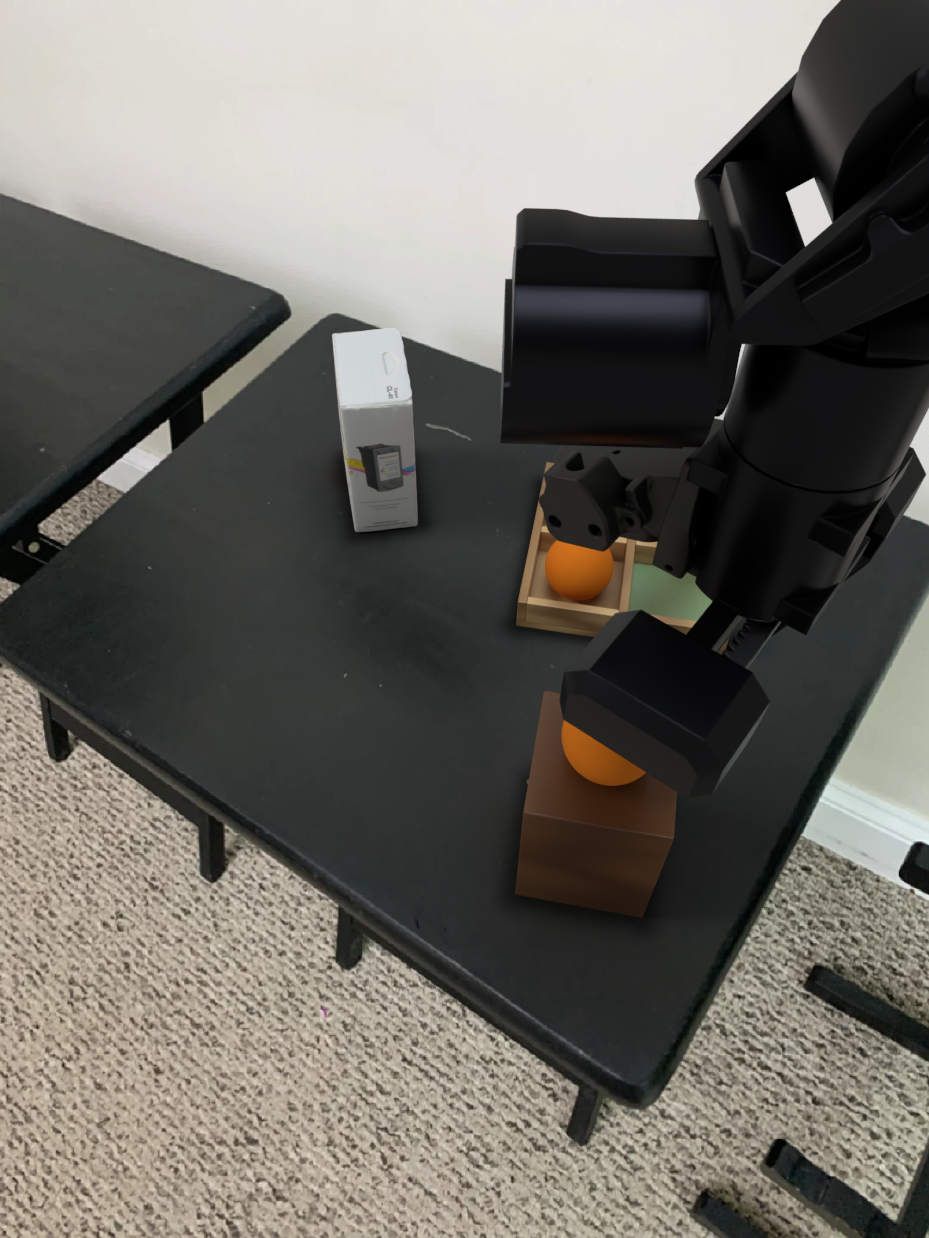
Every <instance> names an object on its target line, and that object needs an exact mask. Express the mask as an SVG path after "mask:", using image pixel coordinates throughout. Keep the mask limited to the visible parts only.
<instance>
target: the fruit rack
mask: <svg viewBox="0 0 929 1238" xmlns="http://www.w3.org/2000/svg"><path fill="white" fill-rule="evenodd" d="M554 464H555V462H549V461H546V462H545V467H544V473H545V472H546V471H547V470H548V469H549V468H550V467H551V466H553V465H554ZM544 473H543V474H544ZM545 486H546V483H545V478H544V475H543V476H542V482H541V487H540V491H539V496H538V499H539V498H540V496H541V495H542V494H543V493H544V490H545ZM556 541H557V539H555V538H554V537H553V536H552V535H551V534H550V533H549V531H548V529H547V525H546V521H545V517H544V514H543V510H542V508H541V506H540V504H539V500H538V502H537V505H536V510H535V516H534V521H533V525H532V530H531V535H530V540H529V545H528V549H527V554H526V560H525V564H524V569H523V574H522V579H521V583H520V589H519V594H518V599H517V609H516V623H515V624H516V626H517V627H524V628H531V629H536V630H544V631H550V632H556V633H557V632H558V633H564V634H570V635H577V636H583V637H591V638H594V637H595V636H596V635H597V634H598V632H599V631H600V630H601V629H602V628H603V627H604V626H605V624H606V623H607V622H608V621H609V620H610V619H611V618H612V616H613V615H614V614H615V613H619V612H626V611H633V610H640V609H641V610H643V611H645V612H646V613H648V614H650V615H652V616H654V617H655V618H657V619H659V620H661V621H662V622H664V623H666V624H668V625H670V626H671V627H673V628H675V629H677V630H678V631H680V632H682V633H684V634H687V633H688V632H689V630H690V629H691V628H692V627H693V625H694V624H695V623H696V622H697V620H698V619H699V618H700V617H701V615H702V614H703V613H704V612H705V610H706V609H707V608H708V607H709V605H710V604H711V603H712V602H713V601H712V600H710V599H709V598H708V597H707V596H706V595H705V594H704V593H703V592H702V591H701V590H700V589H699V588H698V586H697V585H696V583H695V579H696V577H695V576H693V575H691V574H689V573H686V575H685V576H684V577H683V578H682V579H678V578H676V577H674V576H673V575H671V574H669V573H667V572H665V571H663V570H661V569H660V568H658V567H656V566H654V565H652V562H653V558H654V554H655V550H656V546H657V542H640V541H636V540H631V539H627V538H622V537H619V538H618V539H617V540H616V541H615V542H614V543H613V544H612V545H611V546H610V547H609V550H610V552H611V554H612V557H613V564H614V568H613V574H612V578H611V580H610V582H609V584H608V585H607V587H606V588H605V589H604V590H603V591H602V592H601V593H600V594H598V595H597V596H595V597H593V598H590V599H586V600H572V599H568V598H565V597H563V596H561V595H560V594H559V593H557V592H556V591H555V590H554V589H553V588H552V587H551V585H550V584H549V582H548V579H547V577H546V573H545V560H546V556H547V553H548V551H549V549H550V548H551V546H552V545H553V544H554V543H555V542H556ZM730 638H731V636H730V637H729V638H728V640H727V641H726V642H725V644H724V645H723V646H722V648H721V649H720V650H719V652H718V653H719V654H721V655H722V652H723V651H724V650H726V649H727V646H728V644H729V640H730Z"/></svg>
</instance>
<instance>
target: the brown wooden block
mask: <svg viewBox="0 0 929 1238" xmlns="http://www.w3.org/2000/svg"><path fill="white" fill-rule="evenodd" d="M560 694H561V692H553V691H548V690H544V691H543V693H542V699H541V704H540V712H539V717H538V718H539V719H538V724H537V729H536V734H535V741H534V746H533V753H532V759H531V763H530V764H531V765H530V771H529V776H528V783H527V788H526V794H525V800H524V806H523V811H522V823H521V834H520V842H519V851H518V852H519V853H518V861H517V862H518V863H517V873H516V882H515V883H516V884H515V895H516V896H521V897H527V898H531V899H537V900H543V901H547V902H553V903H558V904H559V903H560V904H563V905H569V906H570V905H571V906H575V907H581V908H586V909H591V910H596V911H603V912H607V913H613V914H619V915H624V916H629V917H635V918H639V919H642V918H643V917H644V915H645V913H646V910H647V908H648V905H649V903H650V900H651V898H652V895H653V892H654V890H655V887H656V885H657V882H658V880H659V878H660V875H661V872H662V870H663V867H664V865H665V862H666V859H667V857H668V854H669V852H670V849H671V847H672V845H673V842H674V839H675V831H676V830H675V829H676V813H677V812H676V811H677V798H678V797H677V796H678V795H677V794H678V792H676V791H675V790H673V789H672V788H670V787H668V786H667V785H665V784H664V783H662V782H661V781H659V780H657V779H656V778H654V777H653V776H651V775H650V774H648V773H645V774H644V775H643V776H641V777H640V778H638V779H637V780H635V781H633V782H630V783H627V784H624V785H617V786H607V785H601V784H597V783H594V782H592V781H590V780H588V779H586V778H585V777H583V776H582V775H581V774H579V773H578V772H577V771H576V770H575V769H574V768H573V766H572V765H571V764H570V762H569V760H568V759H567V757H566V755H565V752H564V749H563V744H562V726H563V722H564V720H563V716H562V711H561V707H560V702H559V700H560Z"/></svg>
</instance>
